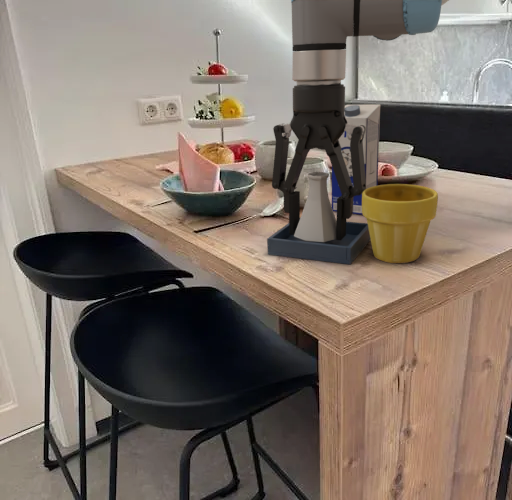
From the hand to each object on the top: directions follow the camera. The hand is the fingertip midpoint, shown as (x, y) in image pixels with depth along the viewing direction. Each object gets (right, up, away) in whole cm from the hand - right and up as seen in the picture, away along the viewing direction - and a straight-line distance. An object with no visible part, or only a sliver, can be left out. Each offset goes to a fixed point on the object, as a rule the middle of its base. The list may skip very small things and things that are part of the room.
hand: (317, 234), depth 80 cm
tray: (+1, -2, 0) cm, 2 cm away
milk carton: (+10, +6, +20) cm, 23 cm away
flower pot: (+11, -3, -5) cm, 13 cm away
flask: (0, 0, 0) cm, 0 cm away
